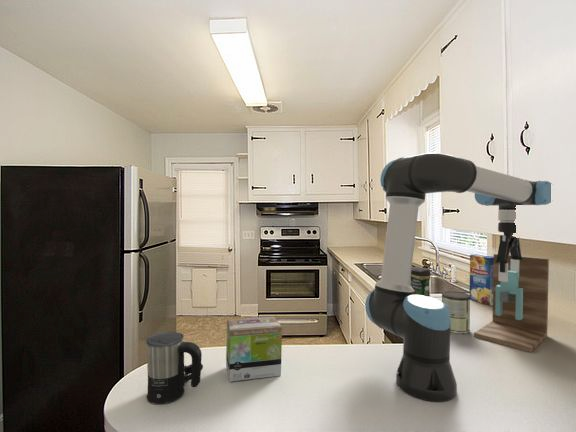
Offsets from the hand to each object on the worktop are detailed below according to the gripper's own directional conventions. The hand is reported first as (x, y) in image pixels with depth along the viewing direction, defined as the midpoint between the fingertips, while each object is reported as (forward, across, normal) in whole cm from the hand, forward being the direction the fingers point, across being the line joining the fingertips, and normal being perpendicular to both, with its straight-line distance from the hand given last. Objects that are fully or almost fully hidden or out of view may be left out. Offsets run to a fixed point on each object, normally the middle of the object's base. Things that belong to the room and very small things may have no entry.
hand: (509, 278), depth 123 cm
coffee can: (+23, -5, +17) cm, 29 cm away
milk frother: (+23, -107, +48) cm, 120 cm away
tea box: (+23, -87, +41) cm, 99 cm away
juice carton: (+22, +48, +24) cm, 58 cm away
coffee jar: (+22, +18, +44) cm, 53 cm away
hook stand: (+22, +3, 0) cm, 23 cm away
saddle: (+14, 0, 0) cm, 14 cm away
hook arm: (+8, +3, 0) cm, 8 cm away
